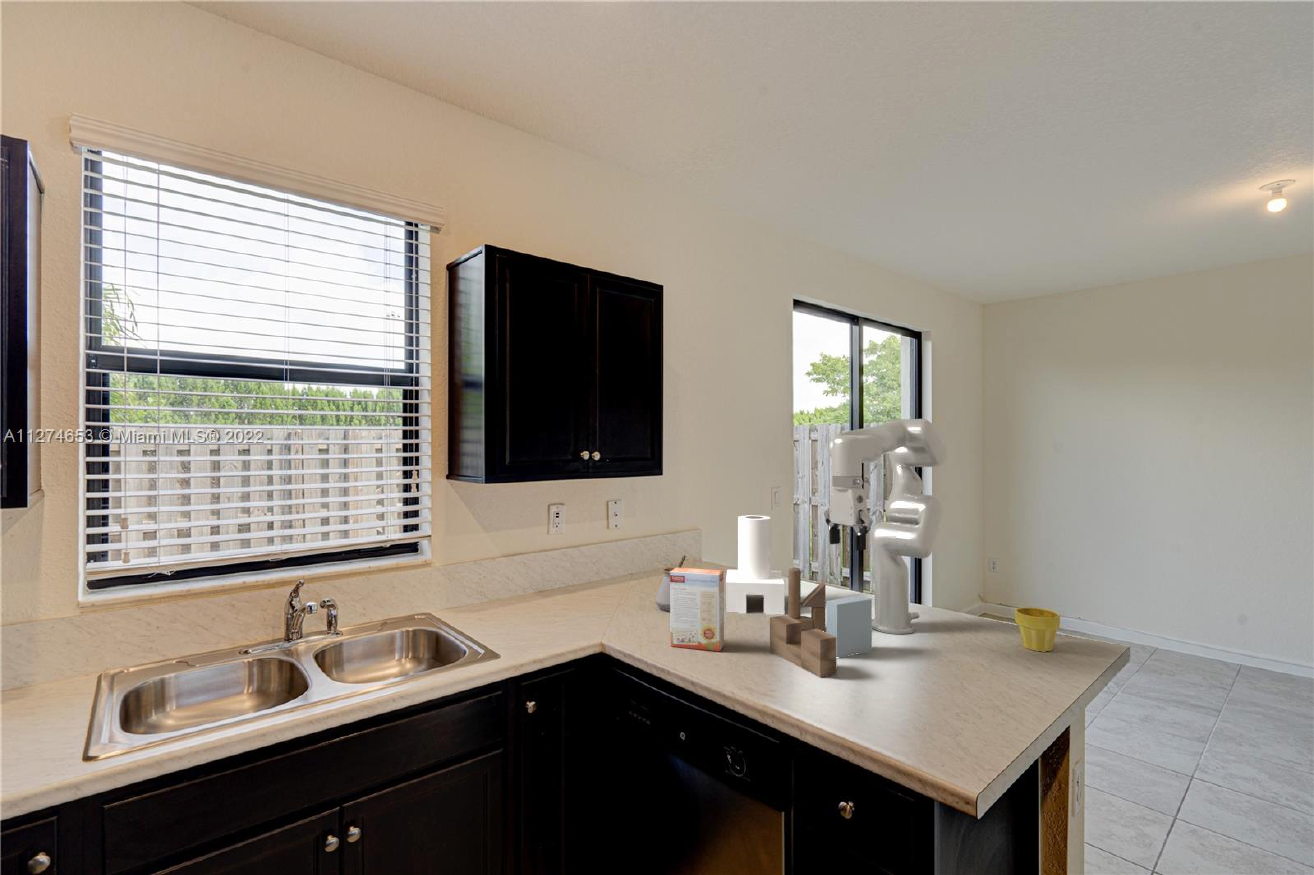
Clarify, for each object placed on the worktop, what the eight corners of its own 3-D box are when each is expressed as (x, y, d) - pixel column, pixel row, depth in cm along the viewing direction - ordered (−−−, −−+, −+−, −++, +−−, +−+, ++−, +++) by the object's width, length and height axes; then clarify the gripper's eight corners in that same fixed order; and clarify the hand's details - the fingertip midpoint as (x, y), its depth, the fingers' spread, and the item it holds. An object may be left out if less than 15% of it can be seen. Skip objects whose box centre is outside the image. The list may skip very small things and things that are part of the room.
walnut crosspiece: (784, 648, 167) (784, 615, 167) (836, 674, 149) (836, 637, 149) (769, 651, 165) (769, 617, 165) (820, 677, 147) (820, 640, 147)
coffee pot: (683, 614, 198) (683, 568, 198) (649, 611, 202) (649, 565, 202) (701, 598, 218) (701, 555, 218) (670, 595, 222) (670, 553, 222)
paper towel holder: (727, 597, 219) (727, 513, 219) (780, 599, 216) (780, 514, 216) (725, 612, 200) (725, 520, 200) (784, 615, 198) (784, 521, 197)
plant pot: (1012, 649, 166) (1012, 613, 166) (1017, 639, 174) (1017, 604, 174) (1058, 657, 159) (1058, 620, 159) (1061, 646, 168) (1061, 611, 168)
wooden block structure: (825, 632, 180) (825, 570, 180) (788, 631, 181) (788, 570, 181) (823, 628, 184) (823, 568, 184) (786, 627, 185) (786, 567, 185)
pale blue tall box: (860, 646, 168) (860, 595, 168) (871, 651, 165) (871, 599, 164) (826, 653, 163) (826, 600, 163) (837, 658, 159) (837, 604, 159)
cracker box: (724, 645, 169) (724, 569, 169) (719, 652, 164) (719, 574, 163) (676, 639, 174) (676, 566, 174) (669, 646, 168) (669, 570, 168)
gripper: (882, 484, 157) (882, 551, 157) (835, 479, 173) (836, 540, 173) (859, 486, 154) (860, 554, 154) (814, 481, 170) (814, 542, 170)
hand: (847, 546), depth 164 cm, fingers open, 9 cm apart
